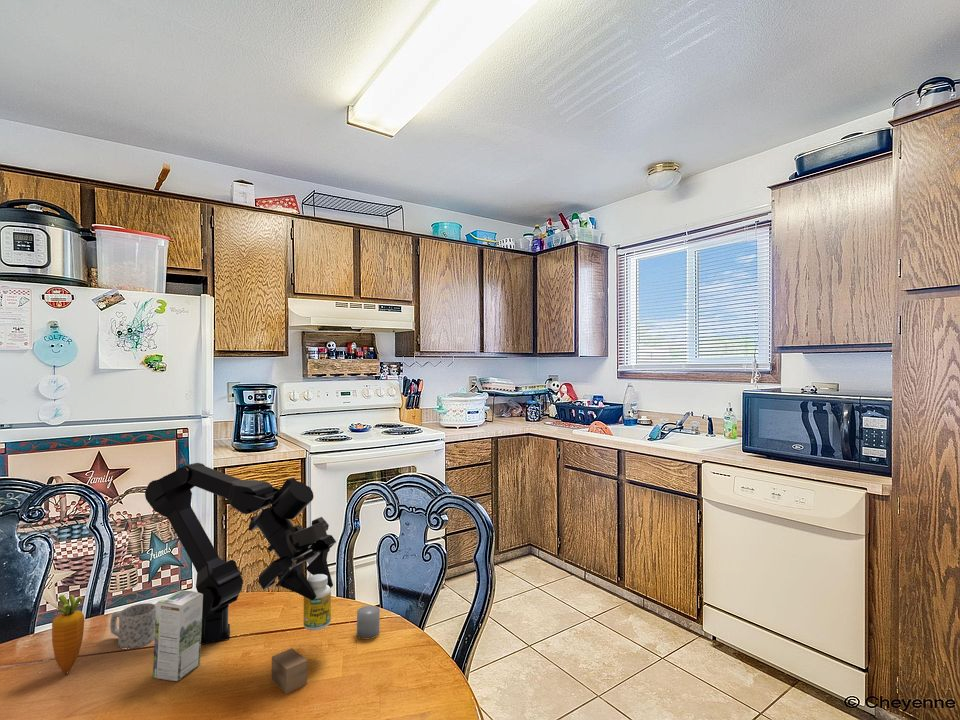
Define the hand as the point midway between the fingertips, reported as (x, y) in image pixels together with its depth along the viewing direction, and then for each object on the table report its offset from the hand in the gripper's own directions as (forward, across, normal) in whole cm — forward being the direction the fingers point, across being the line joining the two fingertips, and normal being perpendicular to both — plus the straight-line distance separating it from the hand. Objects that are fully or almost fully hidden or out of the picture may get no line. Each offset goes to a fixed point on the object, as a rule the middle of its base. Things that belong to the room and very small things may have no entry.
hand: (323, 592), depth 102 cm
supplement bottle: (+4, 0, +6) cm, 7 cm away
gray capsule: (+12, +12, +7) cm, 18 cm away
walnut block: (+9, -8, +10) cm, 16 cm away
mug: (-21, -7, +41) cm, 46 cm away
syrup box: (-7, -13, +26) cm, 30 cm away
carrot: (-21, -20, +41) cm, 50 cm away
